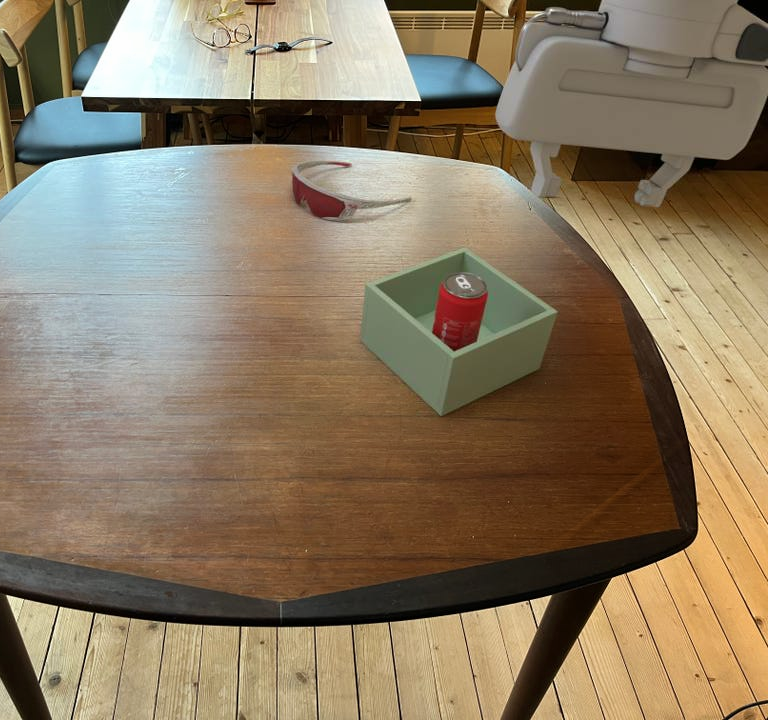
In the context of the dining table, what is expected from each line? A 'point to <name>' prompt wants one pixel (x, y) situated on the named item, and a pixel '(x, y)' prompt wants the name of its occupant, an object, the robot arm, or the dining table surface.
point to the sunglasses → (330, 195)
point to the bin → (434, 358)
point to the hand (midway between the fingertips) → (594, 200)
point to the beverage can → (460, 310)
